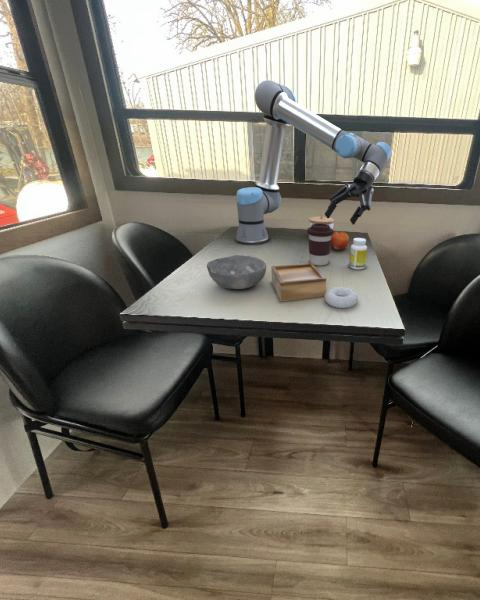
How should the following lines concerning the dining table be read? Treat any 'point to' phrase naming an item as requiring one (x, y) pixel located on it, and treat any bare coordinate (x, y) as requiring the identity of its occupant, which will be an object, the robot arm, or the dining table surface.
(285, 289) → the wooden box
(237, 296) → the dining table surface
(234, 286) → the bowl
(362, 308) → the dining table surface
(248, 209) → the robot arm
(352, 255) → the pill bottle
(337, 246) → the tomato
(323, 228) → the coffee cup
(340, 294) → the donut
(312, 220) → the lidded bowl
